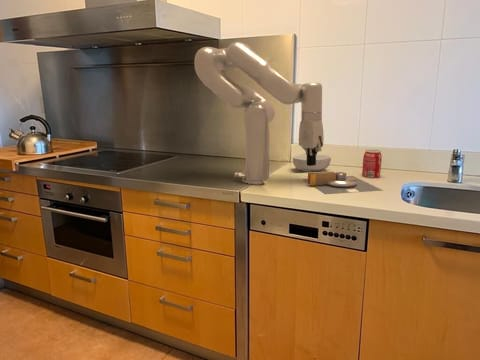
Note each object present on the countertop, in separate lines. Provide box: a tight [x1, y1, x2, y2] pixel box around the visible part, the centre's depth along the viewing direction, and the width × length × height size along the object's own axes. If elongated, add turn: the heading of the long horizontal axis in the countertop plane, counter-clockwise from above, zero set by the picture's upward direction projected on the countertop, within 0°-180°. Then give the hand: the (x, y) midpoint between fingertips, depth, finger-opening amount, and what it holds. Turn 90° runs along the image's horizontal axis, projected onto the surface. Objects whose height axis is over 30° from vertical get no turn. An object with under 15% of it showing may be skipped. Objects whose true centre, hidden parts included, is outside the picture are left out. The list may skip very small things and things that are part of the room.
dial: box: [307, 171, 357, 187], centre depth 134 cm, size 18×12×4 cm, turn 101°
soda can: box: [361, 149, 383, 179], centre depth 145 cm, size 7×7×12 cm
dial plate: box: [302, 175, 384, 195], centre depth 135 cm, size 22×22×2 cm
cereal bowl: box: [292, 153, 332, 174], centre depth 162 cm, size 17×17×7 cm
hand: (311, 165), depth 138 cm, fingers closed
